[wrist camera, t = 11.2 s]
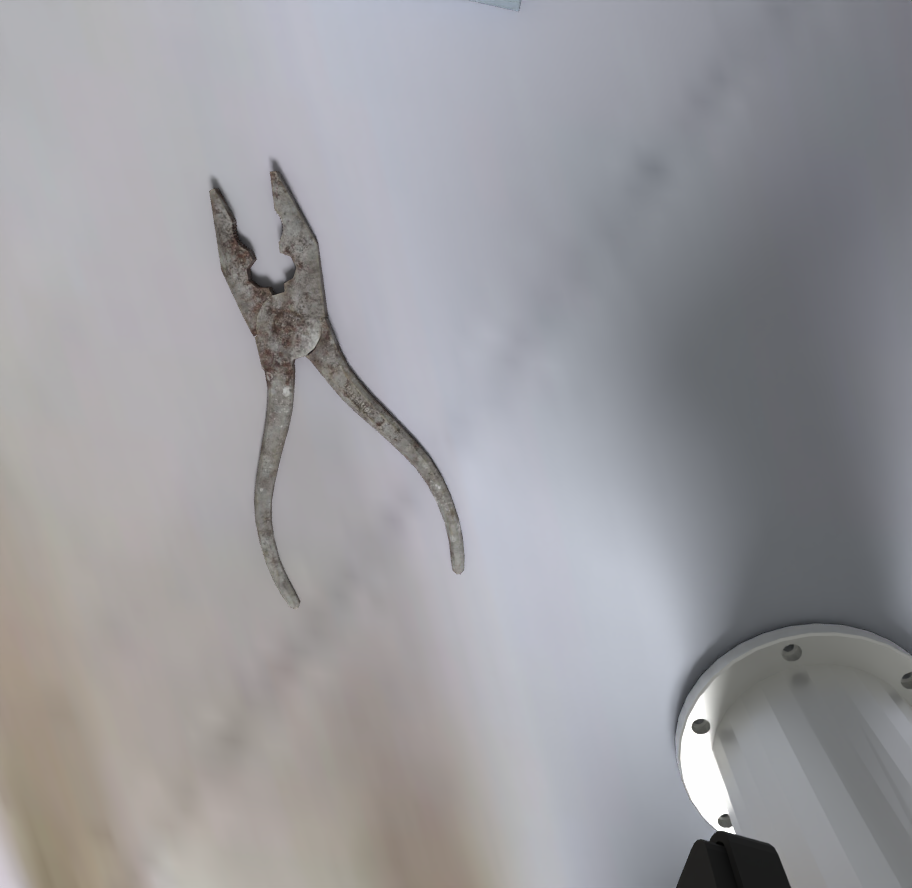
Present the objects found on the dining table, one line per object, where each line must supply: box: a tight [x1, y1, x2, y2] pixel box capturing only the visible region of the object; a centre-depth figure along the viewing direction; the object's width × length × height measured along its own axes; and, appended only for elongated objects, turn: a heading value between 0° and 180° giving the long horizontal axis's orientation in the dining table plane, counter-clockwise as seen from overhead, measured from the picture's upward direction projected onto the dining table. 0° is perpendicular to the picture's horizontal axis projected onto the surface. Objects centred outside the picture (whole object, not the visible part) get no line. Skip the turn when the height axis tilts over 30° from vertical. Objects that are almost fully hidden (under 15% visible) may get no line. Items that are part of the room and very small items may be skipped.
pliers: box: [209, 171, 464, 609], centre depth 36 cm, size 10×1×20 cm
